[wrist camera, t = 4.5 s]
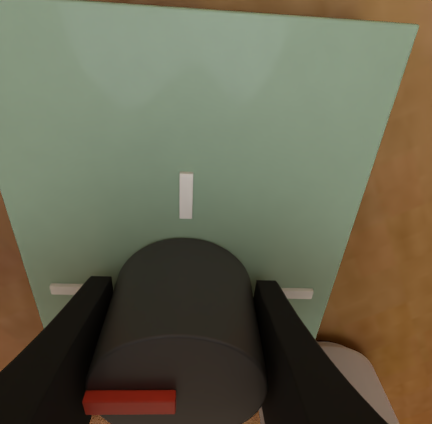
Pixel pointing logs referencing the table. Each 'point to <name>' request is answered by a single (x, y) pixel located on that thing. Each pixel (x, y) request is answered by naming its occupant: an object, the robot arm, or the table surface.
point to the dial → (179, 340)
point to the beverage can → (358, 378)
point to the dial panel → (189, 138)
